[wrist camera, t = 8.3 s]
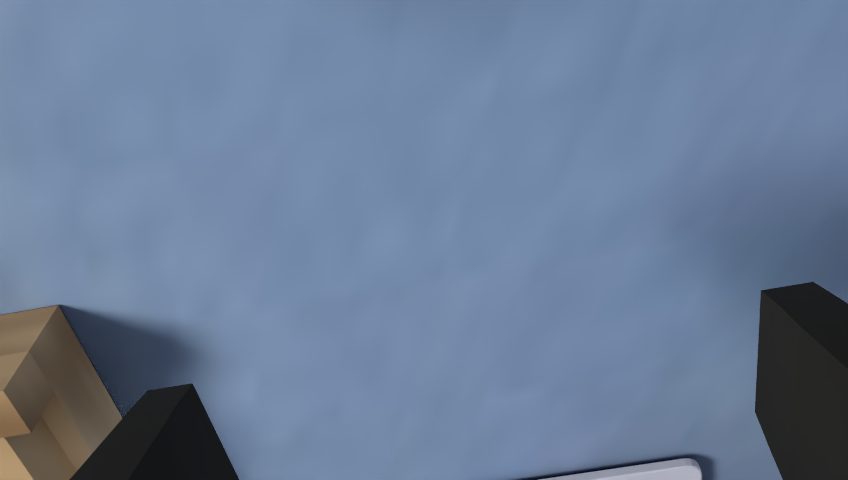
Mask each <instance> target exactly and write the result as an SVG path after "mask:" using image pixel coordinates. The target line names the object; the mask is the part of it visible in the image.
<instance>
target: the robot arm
mask: <svg viewBox="0 0 848 480" xmlns="http://www.w3.org/2000/svg"><path fill="white" fill-rule="evenodd" d="M755 413H756V415H757V418H758V420H759V423H760V425H761V428H762V430H763V433H764V435H765V438H766V440H767V443H768V445H769V448H770V450H771V453H772V455H773V457H774V460H775V462H776V464H777V467H778V469H779V471H780V474H781V476H782V478H783V480H848V304H847V303H846V302H844V301H843V300H841V299H840V298H838V297H836V296H835V295H833V294H832V293H830V292H829V291H827V290H825V289H824V288H822V287H820V286H819V285H817V284H816V283H814V282H810V283H804V284H798V285H792V286H786V287H779V288H773V289H767V290H761V303H760V323H759V343H758V362H757V382H756V401H755ZM70 480H239V479H238V476H237V474H236V472H235V470H234V468H233V466H232V464H231V462H230V460H229V458H228V456H227V454H226V452H225V450H224V448H223V446H222V443H221V441H220V439H219V437H218V435H217V433H216V431H215V429H214V427H213V425H212V423H211V421H210V419H209V417H208V415H207V412H206V410H205V408H204V406H203V404H202V402H201V400H200V398H199V396H198V394H197V392H196V390H195V388H194V386H193V384H186V385H180V386H174V387H168V388H162V389H156V390H150V391H147V392H146V393H145V394H144V395H143V397H142V398H141V399H140V400H139V401H138V402H137V403H136V404H135V405H134V406H133V407H132V408H131V409H130V411H129V412H128V413H127V414H126V415H125V416H124V417H123V418H122V420H121V421H120V422H119V423H118V424H117V425H116V426H115V428H114V429H113V430H112V431H111V432H110V433H109V434H108V436H107V437H106V438H105V439H104V440H103V441H102V443H101V444H100V445H99V446H98V447H97V448H96V450H95V451H94V452H93V453H92V454H91V455H90V457H89V458H88V459H87V460H86V461H85V462H84V463H83V465H82V466H81V467H80V468H79V469H78V470H77V472H76V473H75V474H74V475H73V476H72V477H71V478H70ZM539 480H702V472H701V469H700V466H699V464H698V462H696V461H695V460H693V459H690V458H683V459H676V460H669V461H662V462H655V463H649V464H642V465H635V466H628V467H621V468H614V469H607V470H600V471H594V472H587V473H580V474H573V475H566V476H559V477H552V478H546V479H539Z"/></svg>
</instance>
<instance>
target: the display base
mask: <svg viewBox="0 0 848 480" xmlns="http://www.w3.org/2000/svg"><path fill="white" fill-rule="evenodd" d="M121 420H122V416H121V415H120V413H119V411H118V409H117V407H116V406H115V404H114V402H113V400H112V399H111V397H110V395H109V393H108V392H107V390H106V388H105V386H104V385H103V383H102V381H101V379H100V378H99V376H98V374H97V372H96V371H95V369H94V367H93V365H92V364H91V362H90V360H89V358H88V357H87V355H86V353H85V351H84V349H83V348H82V346H81V344H80V342H79V341H78V339H77V337H76V335H75V334H74V332H73V330H72V328H71V327H70V325H69V323H68V321H67V320H66V318H65V316H64V314H63V313H62V311H61V309H60V307H59V306H58V305H56V306H51V307H45V308H39V309H34V310H28V311H22V312H17V313H11V314H5V315H0V480H70V478H71V477H72V476H73V475H74V474H75V473H76V472H77V470H78V469H79V468H80V467H81V466H82V465H83V463H84V462H85V461H86V460H87V459H88V458H89V457H90V455H91V454H92V453H93V452H94V451H95V450H96V448H97V447H98V446H99V445H100V444H101V443H102V441H103V440H104V439H105V438H106V437H107V436H108V434H109V433H110V432H111V431H112V430H113V429H114V428H115V426H116V425H117V424H118V423H119V422H120V421H121Z"/></svg>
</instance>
